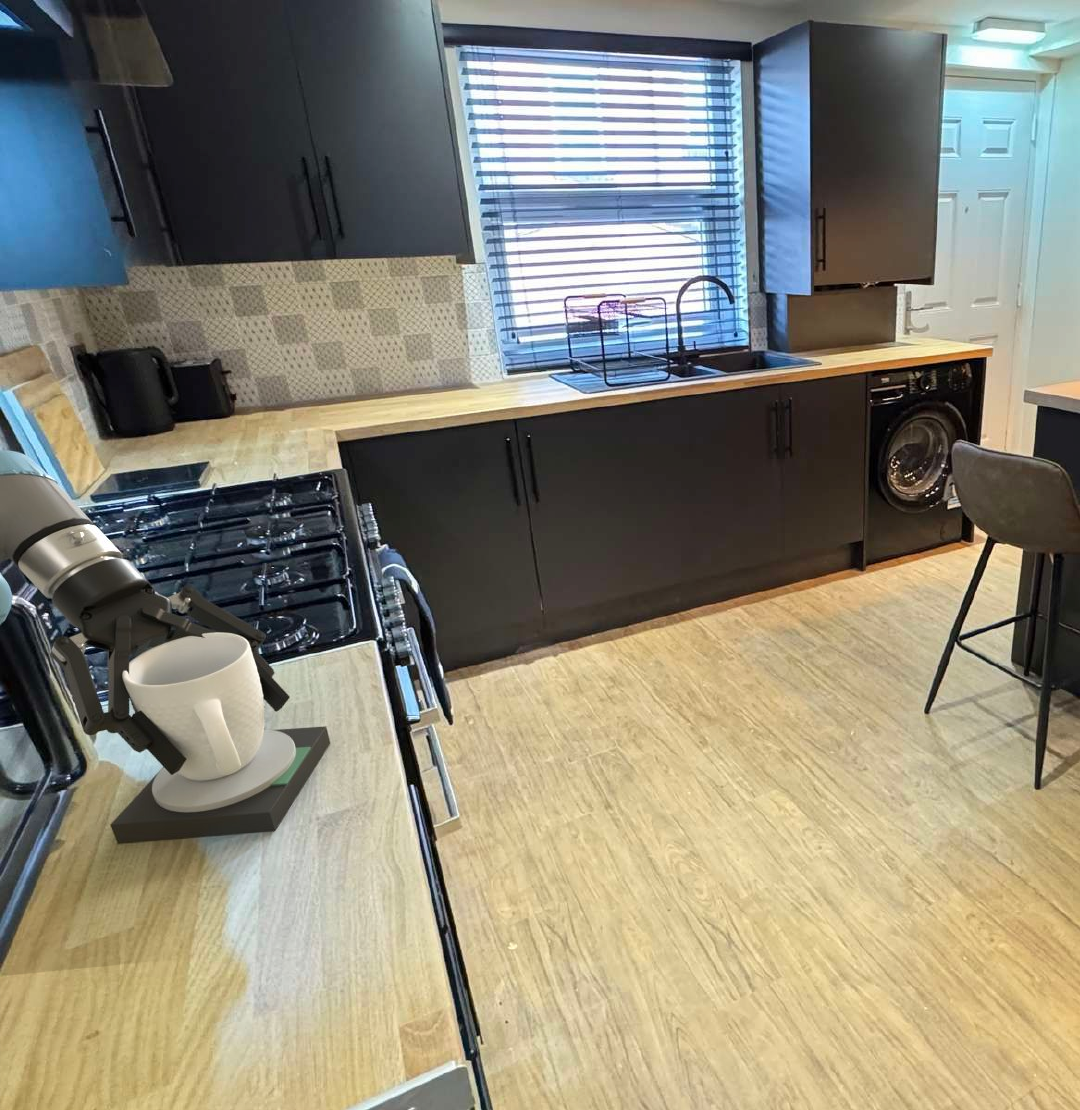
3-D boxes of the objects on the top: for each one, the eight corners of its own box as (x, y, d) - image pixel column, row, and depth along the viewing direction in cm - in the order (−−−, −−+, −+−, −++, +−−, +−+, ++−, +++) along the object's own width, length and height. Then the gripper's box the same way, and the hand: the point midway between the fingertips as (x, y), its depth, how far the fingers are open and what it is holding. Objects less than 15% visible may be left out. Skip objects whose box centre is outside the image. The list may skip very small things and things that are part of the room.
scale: (117, 843, 78) (107, 818, 76) (197, 752, 91) (190, 729, 90) (275, 831, 79) (267, 805, 78) (330, 743, 93) (324, 720, 92)
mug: (301, 780, 82) (273, 673, 77) (177, 832, 75) (136, 718, 70) (263, 719, 92) (235, 621, 87) (150, 760, 85) (113, 655, 80)
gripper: (-46, 606, 69) (126, 788, 69) (207, 521, 89) (338, 662, 90) (-56, 649, 73) (106, 821, 73) (188, 558, 93) (314, 693, 93)
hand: (234, 734), depth 81 cm, fingers closed on mug, 11 cm apart
